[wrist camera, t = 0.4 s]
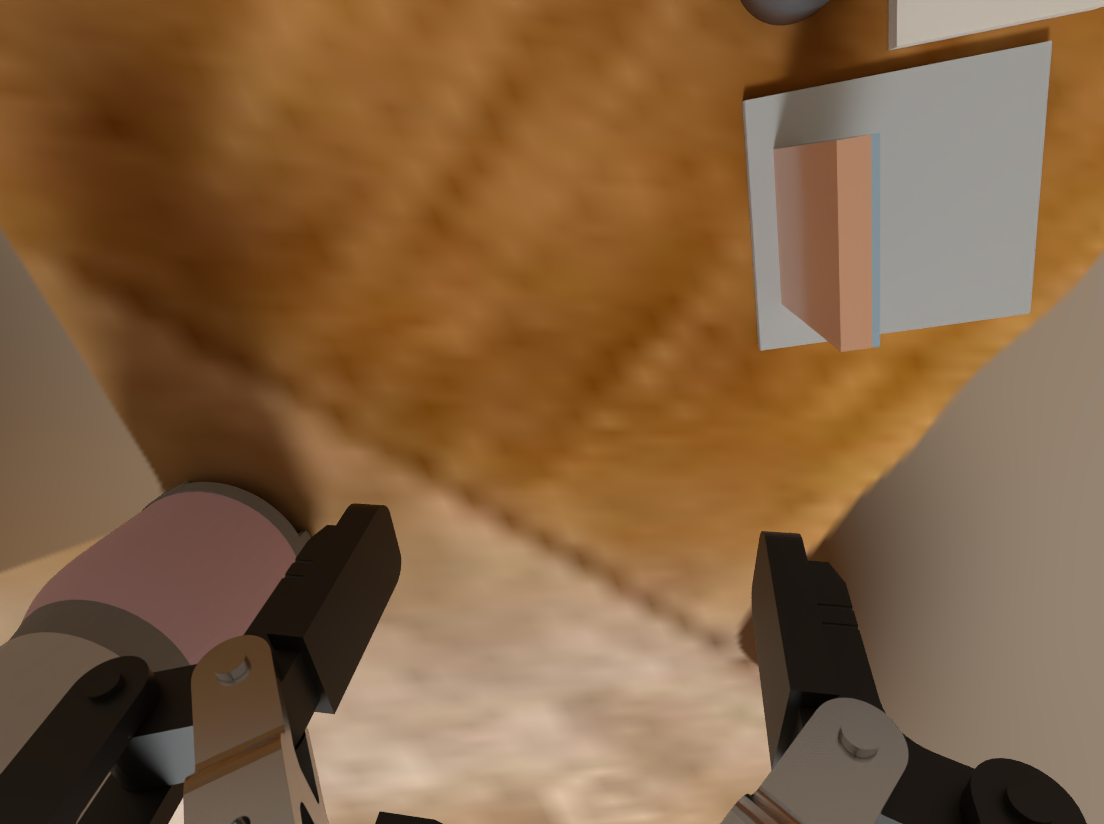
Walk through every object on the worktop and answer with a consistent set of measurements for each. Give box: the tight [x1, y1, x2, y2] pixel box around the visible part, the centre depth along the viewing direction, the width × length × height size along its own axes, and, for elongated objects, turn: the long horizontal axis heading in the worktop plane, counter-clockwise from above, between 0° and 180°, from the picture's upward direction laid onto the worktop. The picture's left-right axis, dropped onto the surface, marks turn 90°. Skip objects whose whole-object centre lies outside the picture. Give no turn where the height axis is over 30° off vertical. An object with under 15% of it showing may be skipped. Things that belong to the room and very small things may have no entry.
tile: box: [773, 133, 880, 352], centre depth 29 cm, size 8×2×10 cm, turn 10°
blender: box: [0, 481, 311, 824], centre depth 30 cm, size 16×12×32 cm
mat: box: [742, 41, 1052, 350], centre depth 33 cm, size 13×14×1 cm
